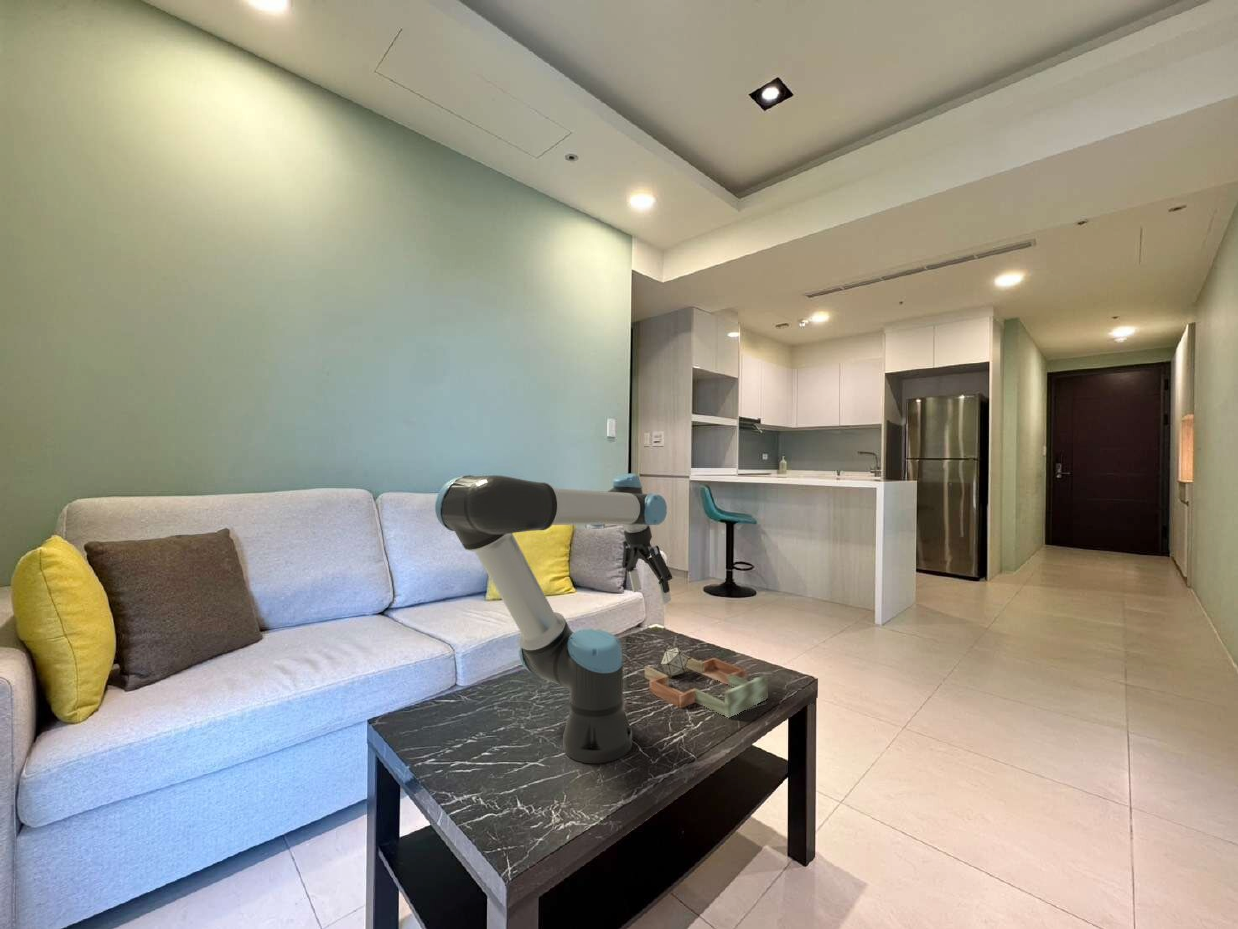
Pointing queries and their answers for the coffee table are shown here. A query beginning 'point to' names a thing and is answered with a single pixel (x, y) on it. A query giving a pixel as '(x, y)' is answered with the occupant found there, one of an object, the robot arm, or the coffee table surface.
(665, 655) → the game die
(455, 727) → the coffee table surface
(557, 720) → the coffee table surface
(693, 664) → the trap box
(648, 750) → the coffee table surface
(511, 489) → the robot arm
